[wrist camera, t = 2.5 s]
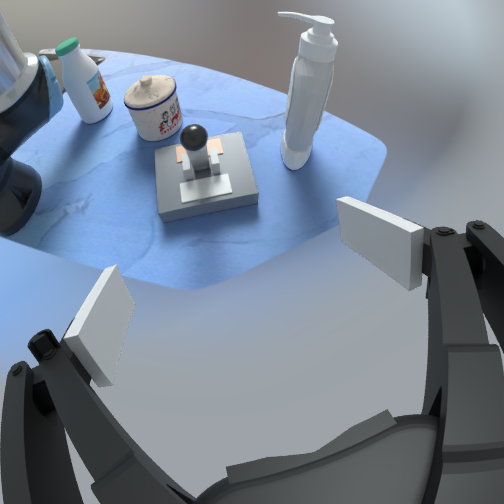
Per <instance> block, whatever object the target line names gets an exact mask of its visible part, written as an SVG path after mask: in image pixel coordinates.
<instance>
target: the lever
mask: <svg viewBox="0 0 504 504" xmlns="http://www.w3.org/2000/svg"><path fill="white" fill-rule="evenodd" d="M207 141H208V134H207V131H206V130H205V128H203V127H202V126H200V125H197V124H192V125H189V126H187V127H185V128H184V129H183V130H182V132H181V134H180V143H181V145H182V146H183V147H184V148H185V150H186V153H187V155H188V158H189V160H190V163H191V165H192V168H193V170H194V172H196V171H201V170H206V169H210V163H209V157H208V150H207V144H206V143H207Z"/></svg>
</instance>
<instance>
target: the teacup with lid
mask: <svg viewBox="0 0 504 504" xmlns="http://www.w3.org/2000/svg"><path fill="white" fill-rule="evenodd" d="M124 104H125V106H126V107H127V108H128V110H129V112H130V114H131V117H132V119H133V122H134V124H135V126H136V129H137V131H138V133H139V135H140V137H141V138H143V139H145V140H147V141H160V140H163V139H166V138H168V137H170V136H172V135H173V134H174V133H176V132H177V131H178V129H179V128H180V126H181V124H182V115H181V110H180V106H179V102H178V97H177V93H176V82H175V79H174V78H172V77H168V76H165V75H154V76H149V75H147V76H144V77H142V78H141V79H140V80H139V81H137V82H136V83H134V84H133V85H132V86H131V87H130V88H129V89H128V90H127V92H126V93H125V96H124Z"/></svg>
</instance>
